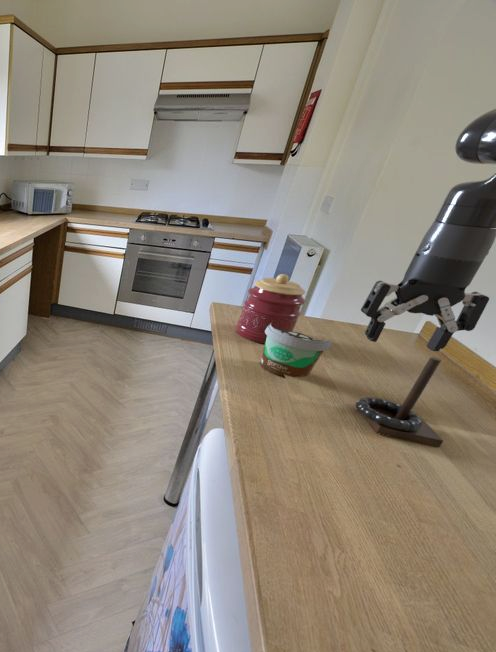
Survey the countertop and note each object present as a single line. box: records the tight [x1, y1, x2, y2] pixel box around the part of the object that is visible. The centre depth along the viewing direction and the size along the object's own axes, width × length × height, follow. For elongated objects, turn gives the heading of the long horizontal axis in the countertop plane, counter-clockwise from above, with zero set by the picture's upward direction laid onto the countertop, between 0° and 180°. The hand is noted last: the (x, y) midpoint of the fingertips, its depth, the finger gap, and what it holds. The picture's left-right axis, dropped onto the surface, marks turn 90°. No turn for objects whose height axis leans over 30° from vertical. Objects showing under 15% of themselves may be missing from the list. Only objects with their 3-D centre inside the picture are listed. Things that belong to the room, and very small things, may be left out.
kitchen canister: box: [235, 273, 307, 345], centre depth 110 cm, size 13×13×18 cm
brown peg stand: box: [362, 356, 444, 448], centre depth 74 cm, size 9×9×14 cm
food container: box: [260, 324, 332, 379], centre depth 92 cm, size 12×6×10 cm, turn 45°
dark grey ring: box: [355, 396, 423, 431], centre depth 77 cm, size 9×9×2 cm
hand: (400, 344), depth 72 cm, fingers open, 8 cm apart
